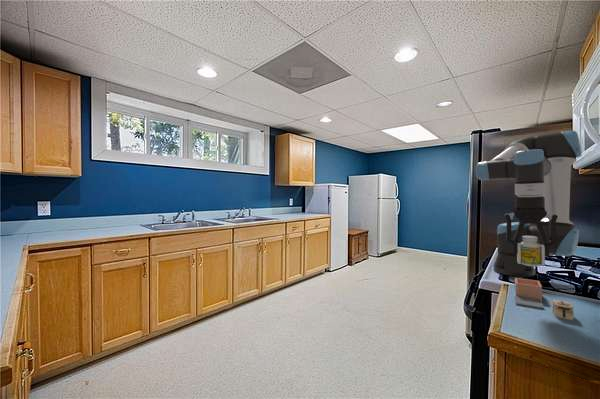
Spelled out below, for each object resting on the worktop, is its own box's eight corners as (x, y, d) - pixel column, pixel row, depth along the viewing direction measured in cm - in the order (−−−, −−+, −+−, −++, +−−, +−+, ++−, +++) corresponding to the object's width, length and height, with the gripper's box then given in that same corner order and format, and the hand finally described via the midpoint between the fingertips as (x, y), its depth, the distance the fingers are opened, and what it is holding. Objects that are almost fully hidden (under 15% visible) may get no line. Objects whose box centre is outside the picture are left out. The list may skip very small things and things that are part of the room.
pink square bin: (514, 290, 102) (514, 277, 102) (539, 294, 98) (539, 280, 98) (516, 296, 96) (516, 283, 96) (542, 300, 92) (542, 286, 92)
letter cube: (552, 311, 84) (552, 299, 84) (570, 315, 82) (570, 302, 82) (555, 317, 81) (554, 304, 81) (573, 320, 79) (573, 307, 78)
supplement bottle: (542, 264, 89) (542, 236, 89) (539, 267, 86) (538, 239, 85) (522, 261, 94) (522, 234, 93) (518, 264, 90) (517, 237, 90)
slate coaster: (514, 297, 96) (514, 295, 96) (540, 301, 92) (540, 300, 92) (516, 304, 90) (516, 303, 90) (543, 309, 86) (543, 307, 86)
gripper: (495, 197, 91) (497, 263, 92) (570, 195, 80) (571, 270, 81) (495, 196, 97) (496, 258, 98) (564, 194, 86) (565, 263, 87)
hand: (530, 263), depth 90 cm, fingers closed on supplement bottle, 5 cm apart
